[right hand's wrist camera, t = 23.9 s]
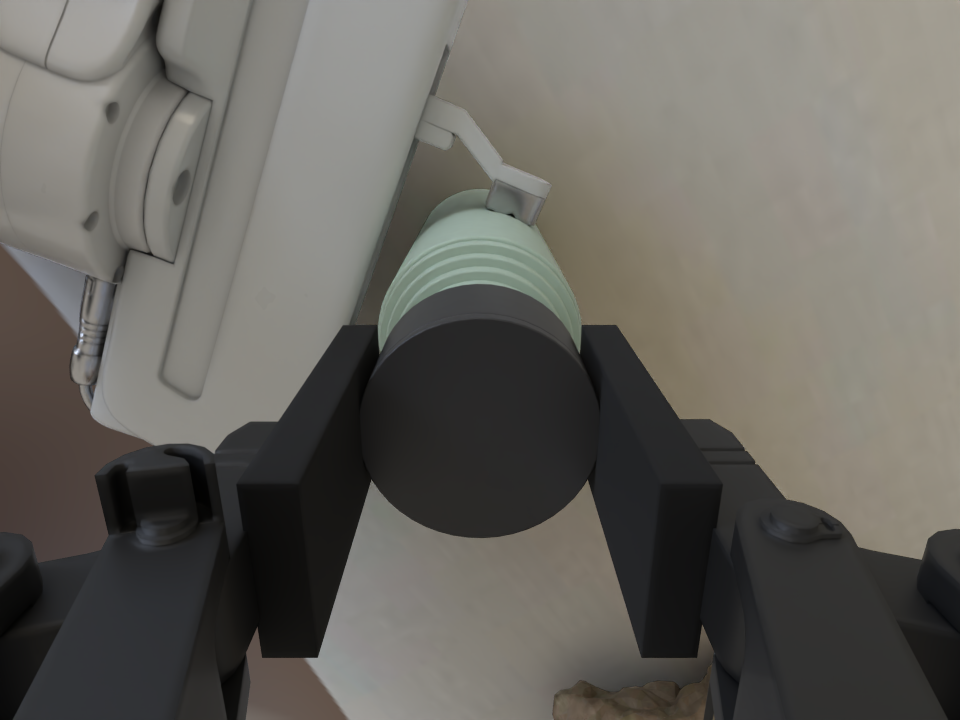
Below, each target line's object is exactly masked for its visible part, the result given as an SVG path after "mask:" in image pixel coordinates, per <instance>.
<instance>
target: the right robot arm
mask: <svg viewBox="0 0 960 720" xmlns="http://www.w3.org/2000/svg"><path fill="white" fill-rule="evenodd" d="M580 356H581V358H582V361H583V363H584V365H585V368H586V370H587V372H588V375H589V377H590V379H591V382H592V384H593V386H594V389H595V392H596V395H597V398H598V401H599V405H600V419H599V433H598V448H597V460H596V463H595V465H594V468H593V470H592V473H591V474H590V476H589V478H588V481H589V485H590V488H591V491H592V495H593V498H594V501H595V505H596V508H597V511H598V515H599V518H600V521H601V525H602V528H603V531H604V535H605V538H606V541H607V545H608V548H609V551H610V554H611V558H612V561H613V564H614V568H615V571H616V574H617V578H618V581H619V584H620V588H621V591H622V594H623V598H624V601H625V604H626V608H627V611H628V614H629V618H630V621H631V624H632V627H633V631H634V634H635V637H636V641H637V644H638V647H639V651H640V654H641V657H642V658H697V654H698V648H699V641H700V634H701V628H702V625H703V627H704V629H705V631H706V634H707V636H708V638H709V640H710V643H711V645H712V647H713V650H714V656H713V662H712V668H711V675H710V681H709V687H708V693H707V699H706V706H705V712H704V719H703V720H713V716H714V718H715V720H960V529H951V530H945V531H938V532H937V533H935V534H934V535H933V536H931V537H930V538H929V539H928V541H927V545H926V548H925V552H924V555H923V559H922V560H919V559H914V558H908V557H903V556H898V555H892V554H887V553H882V552H877V551H872V550H867V549H863V548H859V547H858V546H857V544H856V542H855V540H854V539H853V537H852V535H851V533H850V532H849V531H848V530H847V529H846V528H845V526H844V525H843V524H842V523H841V522H840V521H838V520H837V519H835V518H834V517H832V516H831V515H829V514H827V513H826V512H824V511H822V510H820V509H817V508H814V507H812V506H809V505H807V504H804V503H801V502H796V501H791V500H786V499H785V497H784V496H783V495H782V494H781V492H780V491H779V490H778V489H777V488H776V486H775V485H774V484H773V483H772V481H771V480H770V479H769V478H768V476H767V475H766V474H765V473H764V472H763V470H762V469H761V468H760V467H759V465H755V460H754V459H753V458H752V457H751V455H750V454H749V453H748V452H747V451H745V448H744V447H743V446H742V444H741V443H740V442H739V441H738V439H737V438H736V437H735V436H734V435H733V433H732V432H730V431H728V430H727V429H725V428H723V427H722V426H720V425H718V424H716V423H715V422H713V421H711V420H710V419H679V418H678V416H677V415H676V413H675V412H674V410H673V409H672V407H671V406H670V404H669V403H668V401H667V400H666V398H665V397H664V395H663V394H662V392H661V391H660V389H659V388H658V386H657V385H656V383H655V382H654V380H653V379H652V377H651V376H650V374H649V373H648V371H647V370H646V369H645V367H644V366H643V364H642V363H641V361H640V360H639V358H638V357H637V355H636V354H635V352H634V351H633V349H632V348H631V346H630V345H629V343H628V342H627V340H626V339H625V337H624V336H623V334H622V333H621V331H620V330H619V328H618V327H617V325H582V327H581V345H580ZM378 358H379V340H378V325H343V326H342V327H341V329H340V330H339V332H338V333H337V335H336V336H335V338H334V339H333V341H332V342H331V344H330V345H329V347H328V348H327V350H326V351H325V353H324V354H323V355H322V357H321V358H320V360H319V361H318V363H317V364H316V366H315V367H314V369H313V370H312V372H311V373H310V375H309V376H308V378H307V379H306V381H305V382H304V384H303V385H302V387H301V388H300V390H299V391H298V393H297V394H296V396H295V397H294V399H293V400H292V402H291V403H290V405H289V406H288V408H287V409H286V411H285V412H284V414H283V415H282V416H281V418H280V419H279V421H250V422H248V423H247V424H245V425H243V426H242V427H240V428H238V429H237V430H235V431H233V432H232V433H230V434H228V435H227V436H226V437H225V439H224V440H223V441H222V442H221V444H220V445H219V446H218V447H217V449H216V450H215V454H214V453H212V452H211V451H209V450H208V449H207V448H205V447H203V446H198V445H194V444H189V443H183V444H163V445H158V446H152V447H146V448H143V449H140V450H137V451H134V452H131V453H128V454H125V455H123V456H121V457H119V458H117V459H115V460H113V461H112V462H110V463H108V464H106V465H105V466H104V467H103V468H102V469H101V470H100V471H99V472H98V473H97V474H96V475H95V479H96V483H97V488H98V492H99V496H100V500H101V505H102V509H103V513H104V517H105V521H106V526H107V530H108V534H109V536H108V538H107V540H106V542H105V543H104V545H103V547H102V549H101V550H100V551H96V552H92V553H88V554H83V555H78V556H73V557H67V558H62V559H57V560H52V561H46V562H41V563H38V562H37V559H36V555H35V552H34V548H33V545H32V542H31V541H30V540H28V539H27V538H26V537H25V536H23V535H21V534H14V533H7V532H0V720H246V712H247V704H248V697H249V689H250V676H249V669H248V663H247V656H246V651H247V649H248V647H249V644H250V642H251V640H252V637H253V635H254V633H255V631H256V628H257V626H258V633H259V639H260V646H261V653H262V658H318V655H319V652H320V648H321V645H322V642H323V638H324V635H325V632H326V628H327V625H328V622H329V618H330V615H331V612H332V608H333V605H334V602H335V599H336V595H337V592H338V589H339V585H340V582H341V579H342V575H343V572H344V569H345V565H346V562H347V559H348V555H349V552H350V549H351V545H352V542H353V539H354V536H355V532H356V529H357V526H358V522H359V519H360V516H361V512H362V509H363V506H364V502H365V499H366V496H367V492H368V489H369V486H370V482H371V477H370V475H369V473H368V471H367V469H366V467H365V465H364V462H363V457H362V444H361V430H360V415H359V407H360V403H361V399H362V395H363V393H364V391H365V388H366V386H367V383H368V381H369V379H370V377H371V374H372V372H373V370H374V367H375V365H376V363H377V360H378Z"/></svg>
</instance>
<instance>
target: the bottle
mask: <svg viewBox="0 0 960 720" xmlns="http://www.w3.org/2000/svg"><path fill="white" fill-rule="evenodd" d="M489 191H490V190H487V189H472V190H466V191H463V192H459V193H457V194H454V195H452V196H450V197H449V198H447V199H445V200H444V201H443V202H441V203H440V204H439V205H438V206H437V207H436V208H435V209H434V210H433V211H432V212H431V214H430V215H429V216H428V218H427V220H426V222H425V223H424V225H423V227H422V229H421V231H420V233H419V234H418V236H417V238H416V240H415V242H414V243H413V245H412V247H411V249H410V251H409V253H408V254H407V256H406V258H405V260H404V262H403V263H402V265H401V267H400V269H399V271H398V273H397V274H396V276H395V278H394V280H393V282H392V284H391V285H390V287H389V289H388V291H387V293H386V295H385V298H384V300H383V303H382V306H381V310H380V315H379V322H378V340H379V349H380V353H381V351H382V349H383V346H384V344H385V342H386V339H387V337H388V336H389V334H390V332H391V331H392V329H393V327H394V326H395V325H396V324H397V322H398V321H399V320H400V319H401V317H402V316H403V315H404V314H406V313H407V312H408V311H409V310H410V309H411V308H412V307H413V306H415V305H416V304H418V303H419V302H420V301H422V300H423V299H425V298H427V297H429V296H431V295H433V294H435V293H437V292H440V291H443V290H445V289H448V288H452V287H456V286H461V285H469V284H492V285H498V286H504V287H508V288H511V289H514V290H518V291H520V292H522V293H524V294H527V295H529V296H531V297H533V298H534V299H536V300H537V301H539V302H541V303H542V304H544V305H545V306H546V307H547V308H548V309H550V310H551V311H552V312H553V313H554V314H555V315H556V316H557V317H558V318H559V319H560V320H561V321H562V323H563V324H564V326H565V327H566V328H567V330H568V331H569V333H570V335H571V337H572V339H573V341H574V343H575V345H576V347H577V349H578V351H579V352H580V345H581V317H580V312H579V308H578V304H577V302H576V299H575V296H574V294H573V292H572V290H571V288H570V286H569V284H568V282H567V281H566V279H565V277H564V275H563V273H562V271H561V270H560V268H559V266H558V264H557V262H556V261H555V259H554V257H553V255H552V253H551V251H550V250H549V248H548V246H547V244H546V242H545V240H544V239H543V237H542V235H541V233H540V231H539V230H538V228H537V226H536V224H535V225H534V226H531V225H528V224H525V223H523V222H521V221H519V220H518V219H516V218H515V216H514V215H513V213H511V214H506V215H505V214H502V213H498V212H496V211H493V210H491V209H489V208H486V199H487V196H488V193H489Z"/></svg>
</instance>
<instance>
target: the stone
mask: <svg viewBox="0 0 960 720" xmlns="http://www.w3.org/2000/svg"><path fill="white" fill-rule="evenodd" d="M711 668H712V664H711V665H710V666H709V667H708V668H707V674H706V676H705V677H704V678H703V680H702V681H701V682H700V683H692V684H689V685H686V686H684V687H683V688H682V689H681V690H680V688H679V686H678V685H677V684H676V683H675V682H669V681H654V682H650V683H647V684H646V685H644V686H643V687H638V686H634V687H626V688H622V689H621V690H620V691H619V692H608V691H605V690H602V689H600V688H597V687H595V686H593V685H591V684H589V683H587V682H586V681H581V680H580V681H579V682H578V683H577V684H576V685H574V686H573V687H572V688H570V689H565V690H560V691H559V692H558V693H556V694H555V695H554V705H553V718H554V720H703V719H704V712H705V706H706V699H707V693H708V687H709V681H710V675H711ZM713 720H715V718H714V716H713Z"/></svg>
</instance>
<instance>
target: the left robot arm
mask: <svg viewBox="0 0 960 720" xmlns="http://www.w3.org/2000/svg"><path fill="white" fill-rule="evenodd" d="M467 2H468V0H0V243H2V244H5V245H7V246H10V247H13V248H16V249H18V250H21V251H24V252H27V253H29V254H32V255H35V256H38V257H40V258H44V259H46V260H49V261H52V262H55V263H57V264H60V265H63V266H65V267H68V268H71V269H74V270H76V271H79V272H82V273H84V274H87V275H86V280H85V286H84V291H83V296H82V302H81V308H80V326H79V336H78V340H77V344H76V345H75V346H74V348H73V351H72V354H71V359H70V378H71V380H72V381H73V382H75V383H77V384H79V389H80V394H81V396H82V399H83V401H84V403H85V405H86V406H87V408H88V409H89V410H90V411H91V415H92V417H93V419H95V420H96V421H97V422H99V423H100V424H102V425H104V426H106V427H108V428H110V429H113V430H116V431H119V432H122V433H125V434H128V435H131V436H134V437H137V438H140V439H143V440H145V441H147V442H148V443H150V444H152V445H154V446H158V445H163V444H183V443H189V444H194V445H198V446H203V447H205V448H207V449H208V450H209V451H211V452H212V453H214V454H215V450H216V449H217V447H218V446H219V445H220V444H221V442H222V441H223V440H224V439H225V437H226V436H227V435H228V434H230V433H232V432H233V431H235V430H237V429H238V428H240V427H242V426H243V425H245V424H247V423H248V422H250V421H279V419H280V418H281V416H282V415H283V414H284V412H285V411H286V409H287V408H288V406H289V405H290V403H291V402H292V400H293V399H294V397H295V396H296V394H297V393H298V391H299V390H300V388H301V387H302V385H303V384H304V382H305V381H306V379H307V378H308V376H309V375H310V373H311V372H312V370H313V369H314V367H315V366H316V364H317V363H318V361H319V360H320V358H321V357H322V355H323V354H324V353H325V351H326V350H327V348H328V347H329V345H330V344H331V342H332V341H333V339H334V338H335V336H336V335H337V333H338V332H339V330H340V329H341V327H342V326H343V325H355V323H356V320H357V317H358V315H359V312H360V309H361V306H362V303H363V300H364V297H365V295H366V292H367V289H368V286H369V283H370V280H371V277H372V275H373V272H374V269H375V266H376V263H377V260H378V257H379V254H380V252H381V249H382V246H383V243H384V240H385V237H386V234H387V232H388V229H389V226H390V223H391V220H392V217H393V214H394V211H395V209H396V206H397V203H398V200H399V197H400V194H401V191H402V189H403V186H404V183H405V180H406V177H407V174H408V171H409V169H410V166H411V163H412V160H413V157H414V154H415V151H416V148H417V146H418V143H419V140H420V141H422V142H425V143H427V144H430V145H432V146H435V147H437V148H440V149H442V150H444V151H446V150H448V149H450V148H451V147H452V146H453V143H454V141H455V138H456V135H457V136H458V137H459V139H460V140H461V141H462V142H463V144H464V145H465V146H466V148H467V149H468V150H469V152H470V153H471V154H472V156H473V157H474V158H475V159H476V161H477V162H478V163H479V165H480V166H481V167H482V169H483V170H484V171H485V172H486V174H487V175H488V176H489V178H490V179H491V180H492V182H493V183H492V185H491V188H490V191H489V193H488V196H487V199H486V208H489V209H491V210H493V211H496V212H498V213H502V214H505V215H506V214H511V213H513V215H514V216H515V218H516V219H518V220H519V221H521V222H523V223H525V224H528V225H531V226H534V225H535V223H536V220H537V218H538V216H539V214H540V211H541V209H542V207H543V205H544V202H545V200H546V197H547V195H548V193H549V191H550V188H551V186H552V185H551V184H550V183H549V182H547V181H545V180H543V179H541V178H539V177H537V176H534V175H532V174H530V173H527V172H525V171H522V170H520V169H518V168H515V167H513V166H511V165H508V164H506V163H503V159H502V157H501V156H500V155H499V153H498V152H497V151H496V149H495V148H494V147H493V145H492V144H491V143H490V141H489V140H488V139H487V137H486V136H485V135H484V133H483V132H482V131H481V129H480V128H479V127H478V125H477V124H476V123H475V121H474V120H473V119H472V117H471V116H470V115H469V113H468V112H467V111H466V110H465V109H463V108H461V107H459V106H456V105H454V104H452V103H450V102H447V101H445V100H443V99H440V98H438V97H436V96H435V94H436V91H437V88H438V85H439V83H440V80H441V77H442V74H443V71H444V68H445V65H446V63H447V60H448V57H449V54H450V51H451V48H452V45H453V42H454V40H455V37H456V34H457V31H458V28H459V25H460V22H461V20H462V17H463V14H464V11H465V8H466V5H467ZM455 134H456V135H455ZM95 384H96V388H95V392H94V394H93V390H92V385H95Z"/></svg>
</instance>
